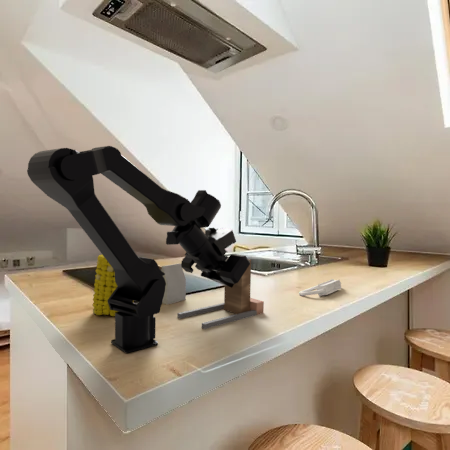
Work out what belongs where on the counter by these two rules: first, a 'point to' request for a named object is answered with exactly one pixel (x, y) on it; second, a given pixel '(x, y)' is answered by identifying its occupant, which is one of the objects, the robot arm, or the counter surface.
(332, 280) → the oval loop handle
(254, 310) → the twin grey rails
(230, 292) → the brown wooden tall block
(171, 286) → the tea bag
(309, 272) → the counter surface
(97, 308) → the food
